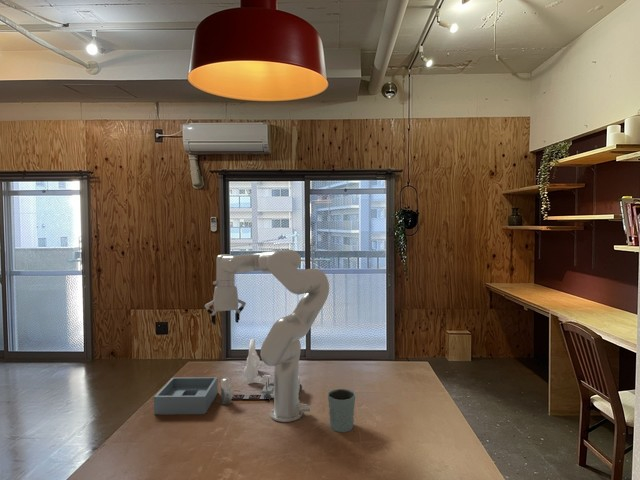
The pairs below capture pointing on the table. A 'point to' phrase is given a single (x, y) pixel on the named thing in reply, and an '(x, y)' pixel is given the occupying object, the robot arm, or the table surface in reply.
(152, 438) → the table surface
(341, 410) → the teal cup
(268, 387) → the toy car
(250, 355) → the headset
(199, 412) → the open box
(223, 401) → the peg
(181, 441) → the table surface
